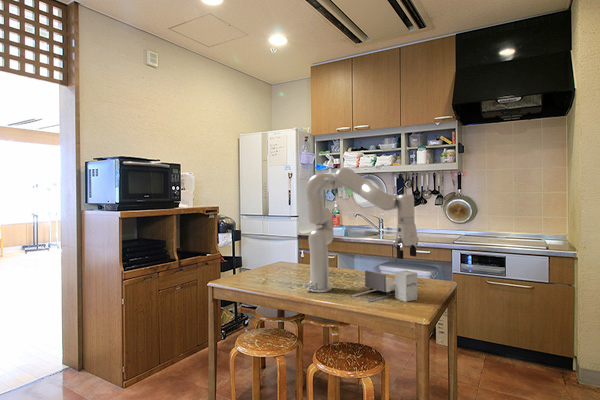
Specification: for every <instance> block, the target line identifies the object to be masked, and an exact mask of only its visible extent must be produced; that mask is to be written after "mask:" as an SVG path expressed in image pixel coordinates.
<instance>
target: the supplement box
mask: <svg viewBox="0 0 600 400" xmlns="http://www.w3.org/2000/svg"><path fill="white" fill-rule="evenodd" d="M394 279H395V290H394V293H395V295H394V298H395V299H397V300H399V301H403V302H406V303H407V302H411V301H417V300H418V272H415V271H411V270H400V271H395V272H394Z"/></svg>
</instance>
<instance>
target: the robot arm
mask: <svg viewBox="0 0 600 400" xmlns="http://www.w3.org/2000/svg"><path fill="white" fill-rule="evenodd" d="M343 187H344V188H347V190H350V191H351V192H353V193H354V194H356V195H359V196H360V197H361V198H362V199H364V200H366V201H367V202H369V203H370V204H372V205H374V206H375V207H377V208H379V209H381V210H382V211H392V210H397V224H396V225H397V227H396V238H395V239H394V240H393V244H394V248H395V250H396V258H397V259H398V260H403V259H404V250H403V248H404V247H409V246H410V247H409V256H411V257H416V258H417V248H418V244H419V237H418V233H417V231H418V230H417V225H416V223H415V196H414V194H411V193H410V194H409V193H408V194H399V195H398V194H389V193H386V192H385V191H383V190H381V189H380V188H377V187H376V186H374V185H373V183H372V182H371V181H370V180H369V179H367V178H365V177H363V176H362V175H360V174H357V173H356V172H355V171H354V170H353V169H352V168H348V167H340V168H339V169H337V170H336V172H332V173H324V172H322V173H321V172H320V173H316V174H314V175H312V176H311V177H310V178H309V179H308V181H307V183H306V186H305V195H306V204H307V205H306V206H307V215H308V216H307V217H308V221H309V224H311V225H312V226H315V227H316V228H314V229H313V230H312V231H310V233H309V235H308V246H309V247H308V249H309V268H310V269H309V276H310V277H309V279H310V280H308V282H307V283H303V284H302V288H303V289H306V290H307V291H309V292H313V293H327V292H330V291H332V286H331V285H329V281H330V279H329V248H328V245H329V244H331V243H332V242H333V240H334V236H335V235H334V224H333V217H332V216H333V215H332V213H331V211H330V210H329V208H327V207H325V204H324V202H325V201H324V196H323V193H322V192H323V191H330V190H336V189H340V188H343Z"/></svg>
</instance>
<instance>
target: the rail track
mask: <svg viewBox="0 0 600 400" xmlns="http://www.w3.org/2000/svg"><path fill="white" fill-rule="evenodd" d="M375 292H380V291H379V290H375V289H374V290H370V289H369V290H367V291H363V292H359V293H355V294H352V295H350V297H351V298H355V297H359V296H363V295H368V294H372V293H375ZM392 296H395V292H392V293H391V292H390V294H389V295H387V294H384V295H381V296H377V297H374V298H369V299H366V300H365V301H366V302H367V303H372V302H375V301H379V300H382V299H385V298H386V299H387V298H389V297H392Z"/></svg>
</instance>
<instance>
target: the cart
mask: <svg viewBox="0 0 600 400" xmlns="http://www.w3.org/2000/svg"><path fill="white" fill-rule="evenodd" d="M364 286H365V288H369V291H370V290H379V291H378V292H383V293H385V294H384V295H389V294H391V292H392V291H395V278H391V277H387V275H386V274H385V273H380V272H376V271H371V270H364Z"/></svg>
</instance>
